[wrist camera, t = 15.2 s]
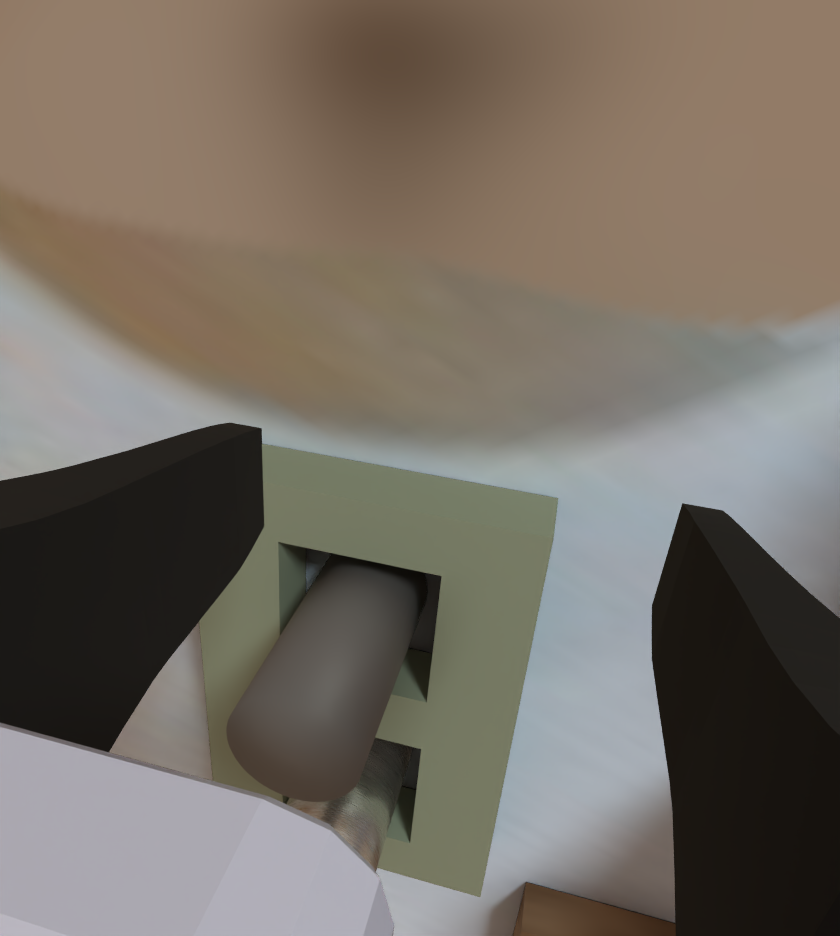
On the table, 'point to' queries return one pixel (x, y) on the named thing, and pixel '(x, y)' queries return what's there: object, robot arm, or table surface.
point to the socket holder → (580, 917)
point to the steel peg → (366, 801)
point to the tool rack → (379, 648)
